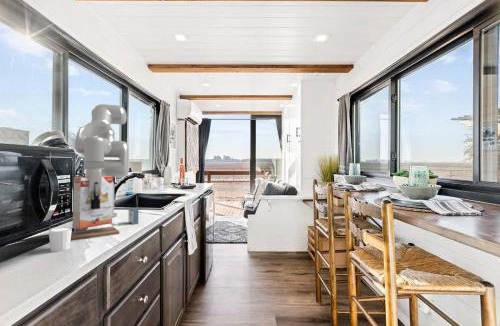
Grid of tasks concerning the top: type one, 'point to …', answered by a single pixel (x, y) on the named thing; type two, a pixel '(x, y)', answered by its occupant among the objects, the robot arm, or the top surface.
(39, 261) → the top surface
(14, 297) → the top surface
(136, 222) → the twin grey pillars
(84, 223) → the cracker box
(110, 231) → the walnut board
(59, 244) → the white short tapered cylinder
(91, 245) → the top surface
